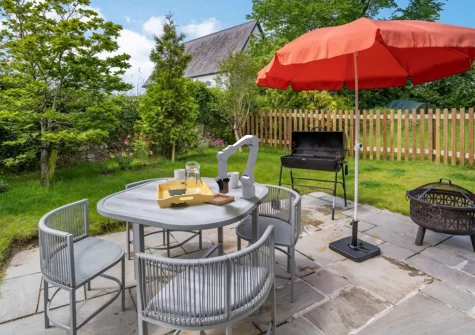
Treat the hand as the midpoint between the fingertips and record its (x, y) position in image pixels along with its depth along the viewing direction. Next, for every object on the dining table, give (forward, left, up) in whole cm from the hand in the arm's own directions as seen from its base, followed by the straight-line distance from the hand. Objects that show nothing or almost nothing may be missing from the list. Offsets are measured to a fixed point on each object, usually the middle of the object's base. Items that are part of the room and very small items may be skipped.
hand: (223, 189), depth 201 cm
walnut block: (0, 0, -2) cm, 2 cm away
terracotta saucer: (-1, -5, -9) cm, 10 cm away
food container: (+19, -24, -9) cm, 32 cm away
